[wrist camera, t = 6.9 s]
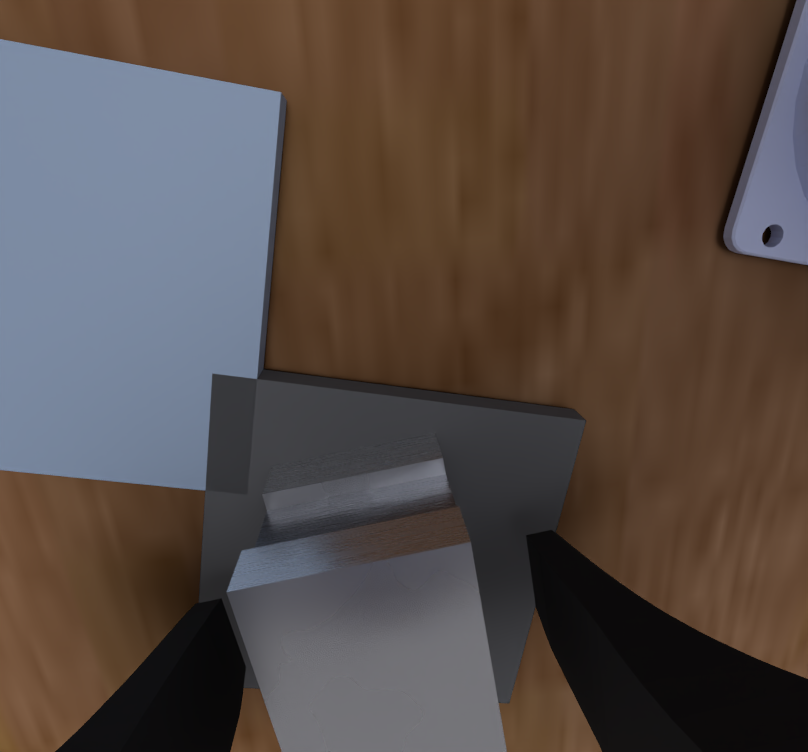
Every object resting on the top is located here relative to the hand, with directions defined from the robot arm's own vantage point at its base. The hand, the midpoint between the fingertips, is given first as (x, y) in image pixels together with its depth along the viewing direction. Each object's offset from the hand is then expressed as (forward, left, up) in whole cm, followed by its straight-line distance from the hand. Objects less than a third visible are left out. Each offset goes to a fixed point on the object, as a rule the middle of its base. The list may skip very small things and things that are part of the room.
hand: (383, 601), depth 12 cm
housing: (0, 0, -2) cm, 2 cm away
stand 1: (+8, -6, -2) cm, 10 cm away
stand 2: (0, 0, -2) cm, 2 cm away
